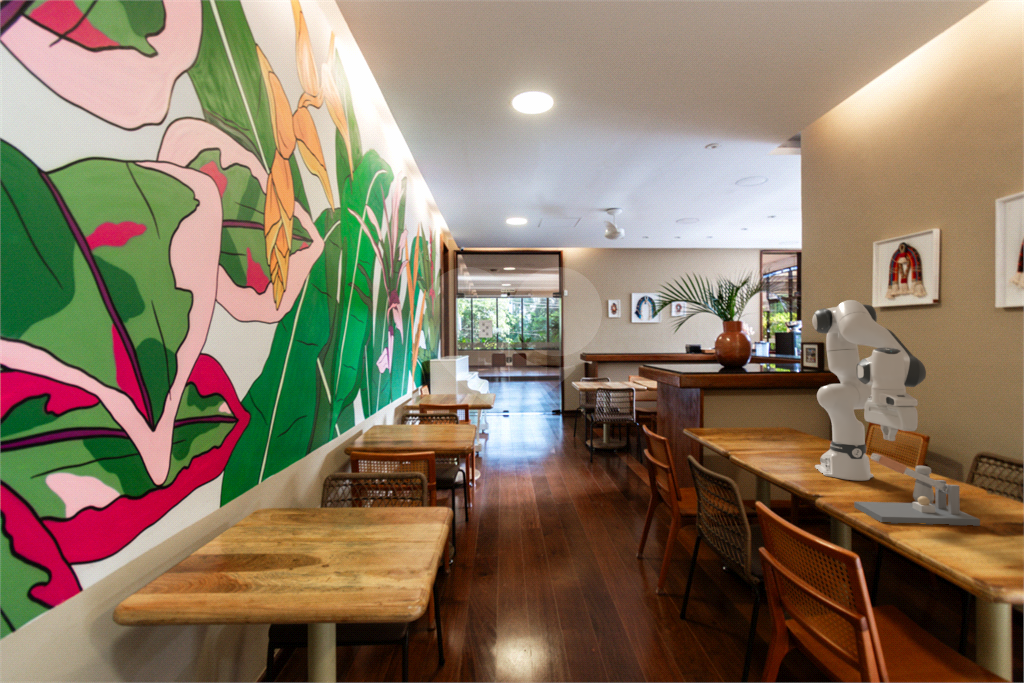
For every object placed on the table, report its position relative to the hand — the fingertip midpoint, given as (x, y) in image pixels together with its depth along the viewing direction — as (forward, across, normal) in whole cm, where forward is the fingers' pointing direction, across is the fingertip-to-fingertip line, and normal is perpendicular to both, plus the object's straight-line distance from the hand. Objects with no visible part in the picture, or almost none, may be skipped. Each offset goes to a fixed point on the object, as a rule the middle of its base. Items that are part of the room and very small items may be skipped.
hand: (889, 440), depth 155 cm
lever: (+13, 0, +6) cm, 14 cm away
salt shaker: (+25, -13, +19) cm, 34 cm away
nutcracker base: (+25, 0, +7) cm, 26 cm away
